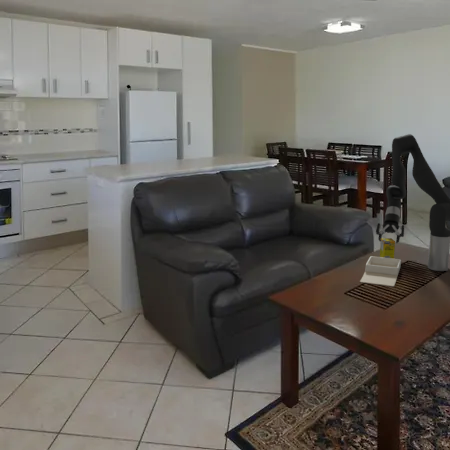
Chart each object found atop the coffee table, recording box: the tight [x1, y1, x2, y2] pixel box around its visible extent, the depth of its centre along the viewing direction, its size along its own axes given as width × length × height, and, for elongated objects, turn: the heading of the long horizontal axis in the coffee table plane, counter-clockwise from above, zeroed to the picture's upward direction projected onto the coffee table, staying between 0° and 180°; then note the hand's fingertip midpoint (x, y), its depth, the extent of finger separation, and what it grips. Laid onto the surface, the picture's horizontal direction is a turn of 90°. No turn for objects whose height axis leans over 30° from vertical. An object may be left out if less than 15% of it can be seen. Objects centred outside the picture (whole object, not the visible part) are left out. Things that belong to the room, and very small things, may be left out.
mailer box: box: [359, 255, 402, 288], centre depth 228 cm, size 15×30×4 cm, turn 155°
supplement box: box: [379, 237, 396, 259], centre depth 250 cm, size 6×6×11 cm
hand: (388, 241), depth 252 cm, fingers open, 8 cm apart
